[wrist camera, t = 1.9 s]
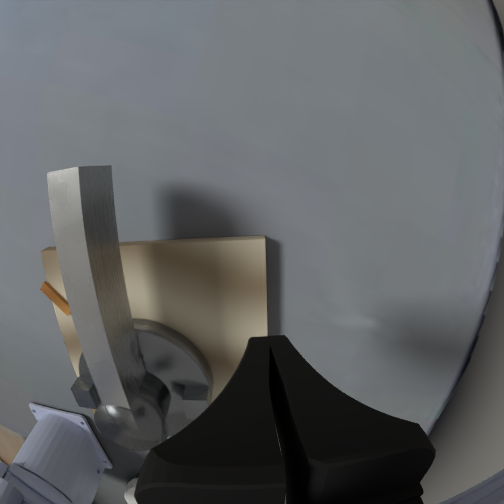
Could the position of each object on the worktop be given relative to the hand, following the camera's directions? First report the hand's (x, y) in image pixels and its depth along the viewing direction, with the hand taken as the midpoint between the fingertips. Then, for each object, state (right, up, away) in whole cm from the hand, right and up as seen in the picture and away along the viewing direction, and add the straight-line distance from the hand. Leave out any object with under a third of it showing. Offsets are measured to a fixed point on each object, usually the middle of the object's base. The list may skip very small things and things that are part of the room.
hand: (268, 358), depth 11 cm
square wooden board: (-8, -3, +10) cm, 13 cm away
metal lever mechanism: (-9, -1, +8) cm, 12 cm away
